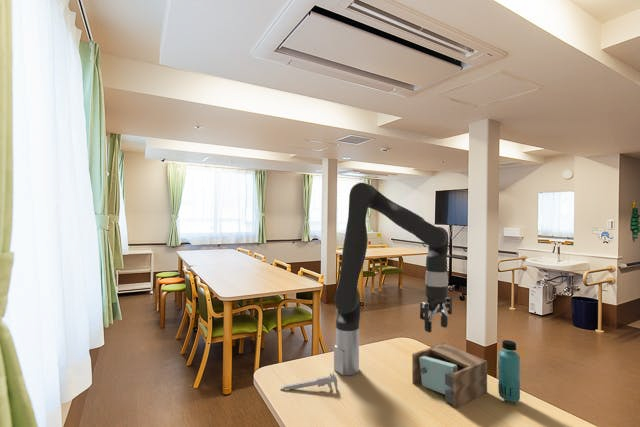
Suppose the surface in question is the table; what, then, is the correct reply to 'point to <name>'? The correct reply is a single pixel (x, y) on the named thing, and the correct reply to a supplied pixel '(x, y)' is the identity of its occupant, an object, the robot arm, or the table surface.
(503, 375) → the beverage bottle
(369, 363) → the table surface
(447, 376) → the cabinet
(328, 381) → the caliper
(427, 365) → the door
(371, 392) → the table surface
